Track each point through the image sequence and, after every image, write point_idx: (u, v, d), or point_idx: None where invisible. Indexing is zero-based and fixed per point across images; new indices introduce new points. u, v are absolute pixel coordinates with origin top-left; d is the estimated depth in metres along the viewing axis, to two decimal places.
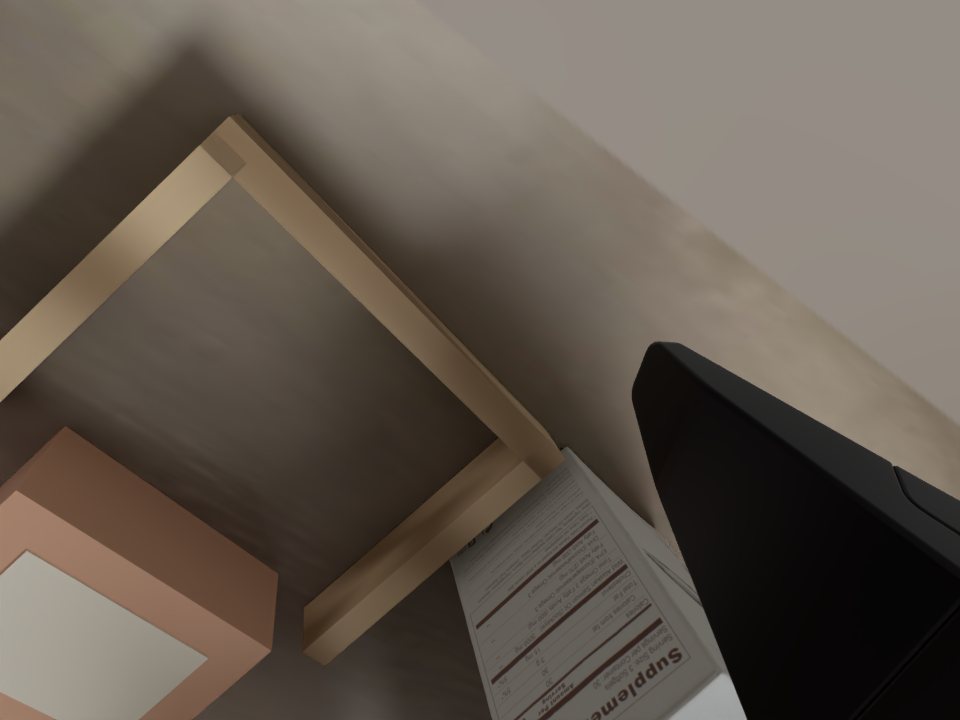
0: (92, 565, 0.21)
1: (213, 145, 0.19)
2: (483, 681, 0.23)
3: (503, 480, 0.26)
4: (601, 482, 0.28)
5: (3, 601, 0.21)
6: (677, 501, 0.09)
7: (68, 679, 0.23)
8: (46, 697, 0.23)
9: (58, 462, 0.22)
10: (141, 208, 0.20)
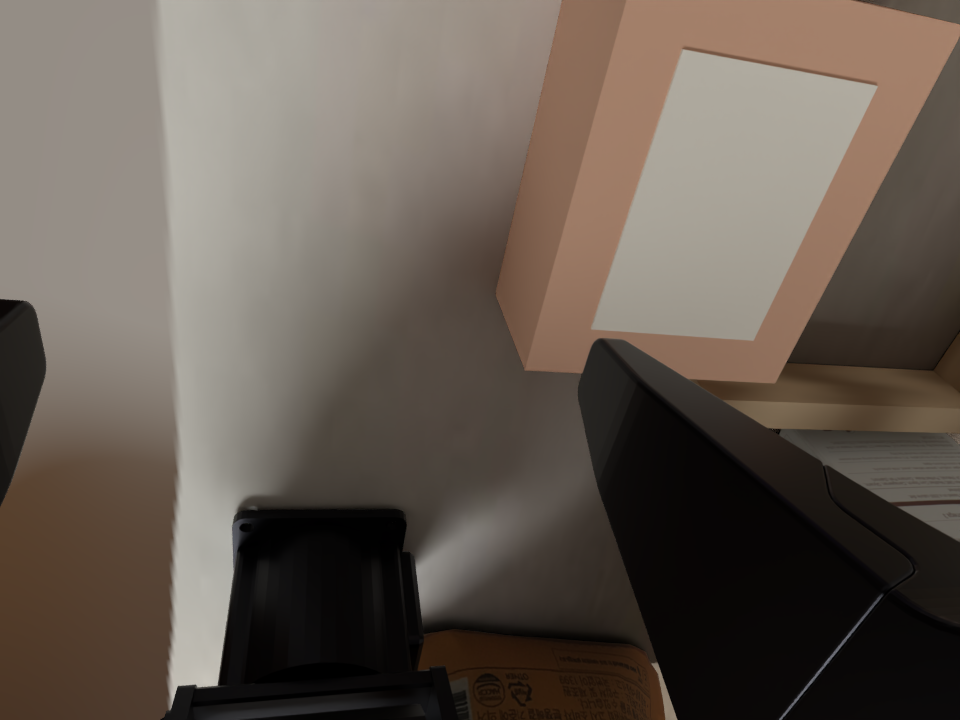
0: (862, 164, 0.17)
1: None
2: None
3: (956, 410, 0.25)
4: None
5: (794, 103, 0.15)
6: (616, 501, 0.09)
7: (684, 234, 0.17)
8: (641, 228, 0.17)
9: None
10: None
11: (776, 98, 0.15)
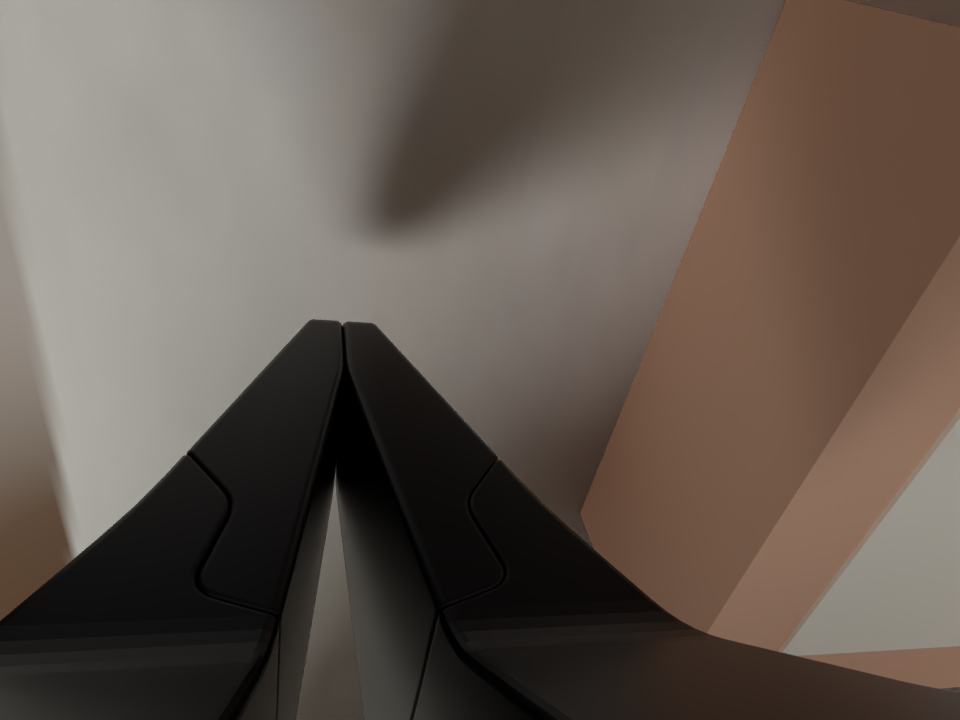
0: None
1: None
2: None
3: None
4: None
5: None
6: (341, 502, 0.08)
7: None
8: (900, 523, 0.09)
9: None
10: None
11: None
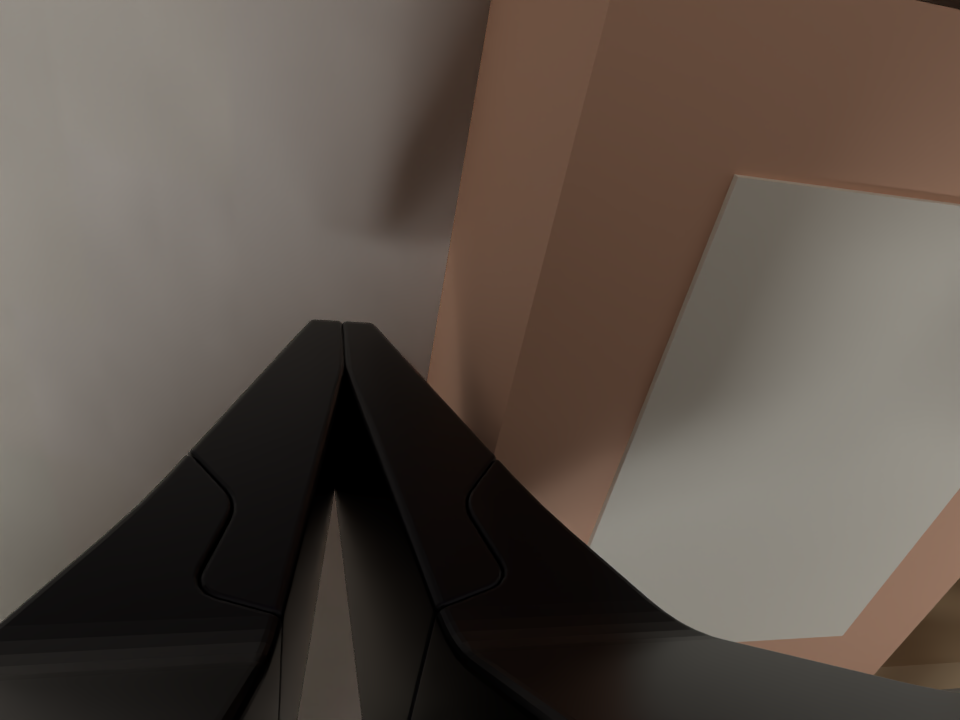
0: None
1: None
2: None
3: None
4: None
5: None
6: (340, 501, 0.08)
7: (725, 509, 0.08)
8: (639, 504, 0.08)
9: None
10: None
11: (940, 265, 0.07)
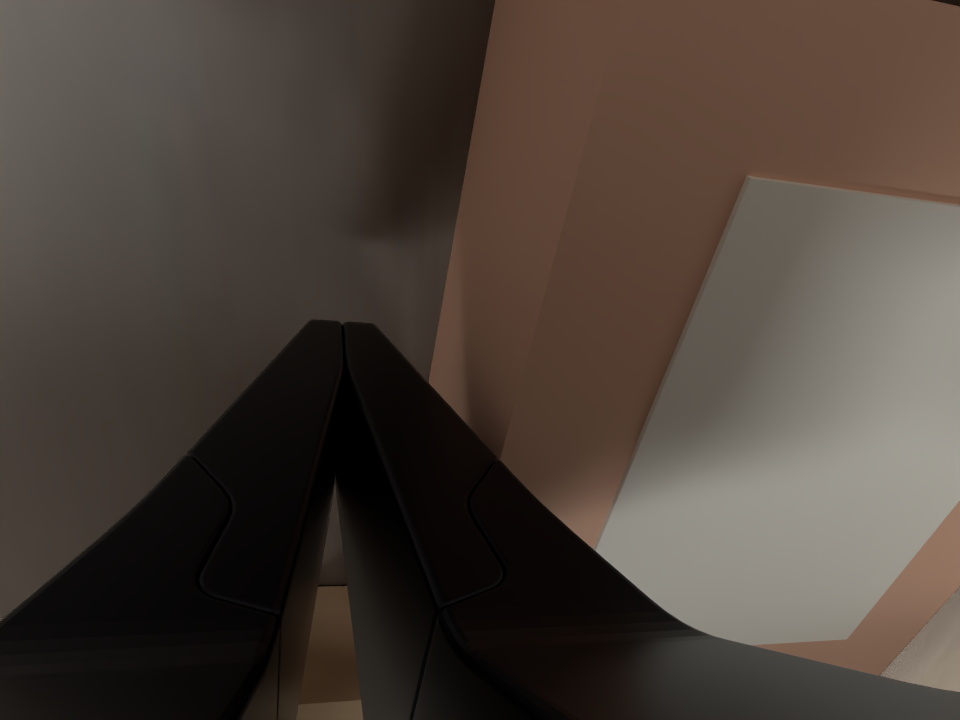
0: None
1: None
2: None
3: None
4: None
5: None
6: (341, 501, 0.08)
7: (732, 514, 0.08)
8: (645, 507, 0.08)
9: None
10: None
11: (951, 267, 0.07)
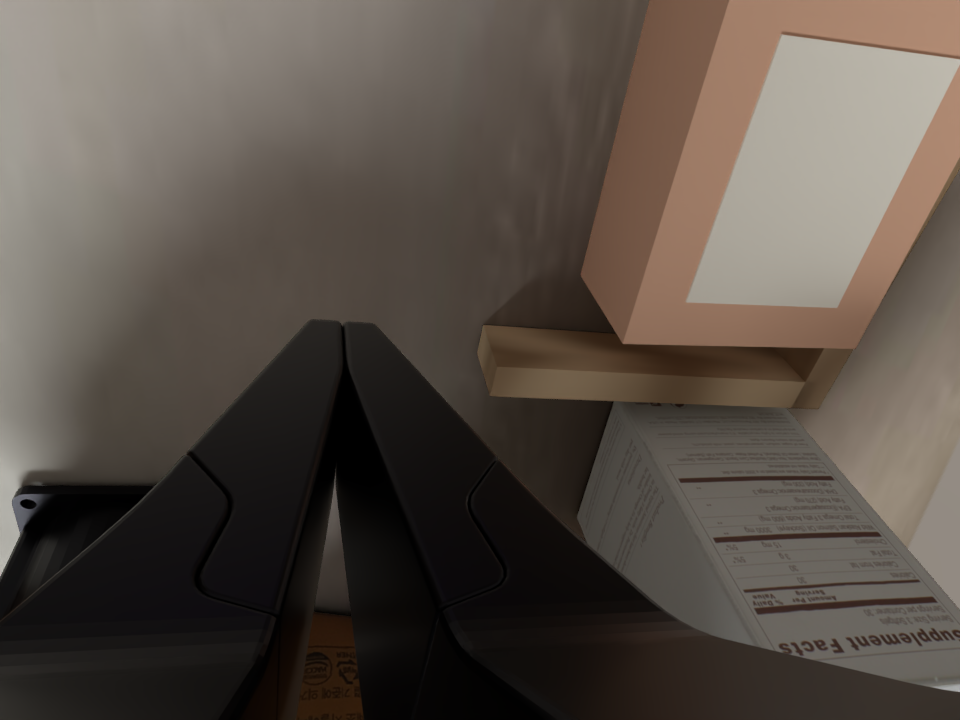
0: (944, 134, 0.18)
1: None
2: (699, 533, 0.21)
3: (779, 382, 0.24)
4: None
5: (882, 79, 0.16)
6: (341, 501, 0.08)
7: (775, 209, 0.18)
8: (735, 205, 0.18)
9: None
10: None
11: (866, 76, 0.16)
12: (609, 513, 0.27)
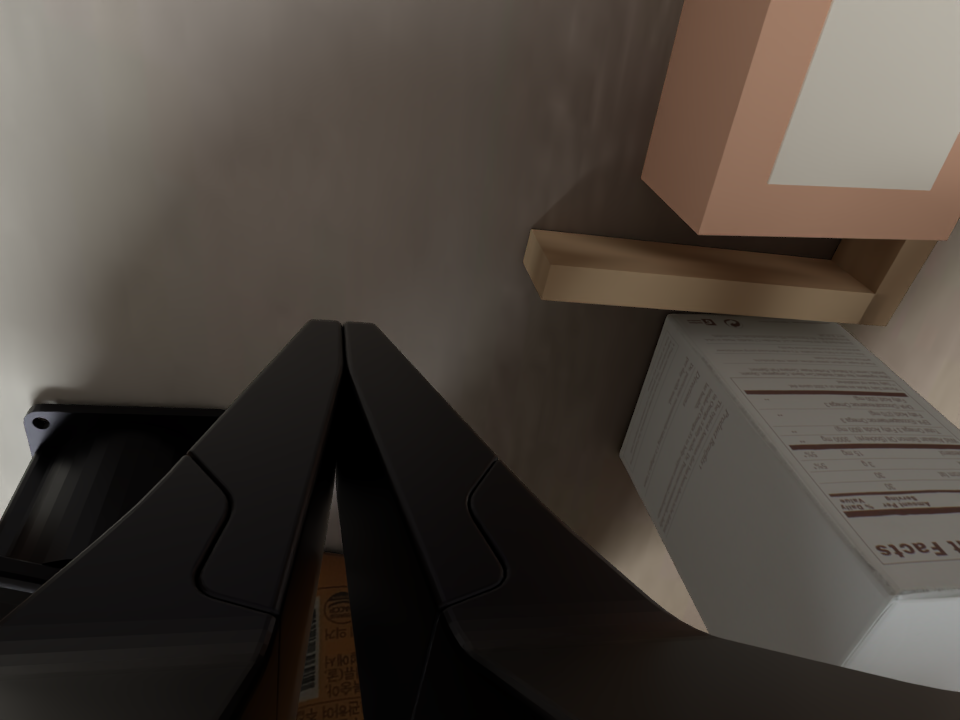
0: None
1: None
2: (774, 441, 0.19)
3: (847, 293, 0.23)
4: None
5: None
6: (341, 501, 0.08)
7: (870, 70, 0.16)
8: (826, 65, 0.16)
9: None
10: None
11: None
12: (659, 442, 0.25)
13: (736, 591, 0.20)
